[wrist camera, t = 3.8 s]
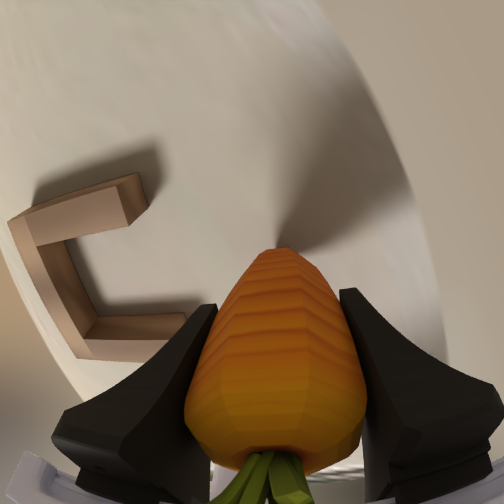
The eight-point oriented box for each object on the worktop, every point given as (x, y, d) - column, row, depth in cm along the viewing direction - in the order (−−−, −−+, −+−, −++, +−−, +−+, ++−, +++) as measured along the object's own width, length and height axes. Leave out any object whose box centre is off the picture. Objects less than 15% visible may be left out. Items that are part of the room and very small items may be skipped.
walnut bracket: (193, 335, 19) (184, 363, 17) (90, 336, 21) (76, 358, 19) (138, 172, 15) (115, 186, 12) (30, 207, 16) (6, 222, 14)
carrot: (265, 306, 18) (234, 587, 4) (215, 238, 16) (86, 555, 3) (342, 268, 16) (412, 573, 3) (298, 190, 15) (350, 604, 1)
